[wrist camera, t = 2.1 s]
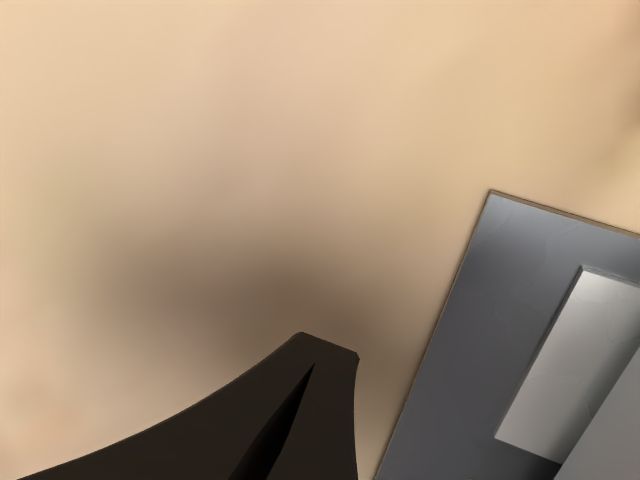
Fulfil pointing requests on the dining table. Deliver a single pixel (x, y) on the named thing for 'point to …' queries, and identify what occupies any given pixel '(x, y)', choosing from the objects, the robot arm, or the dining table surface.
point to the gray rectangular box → (611, 435)
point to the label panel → (520, 348)
